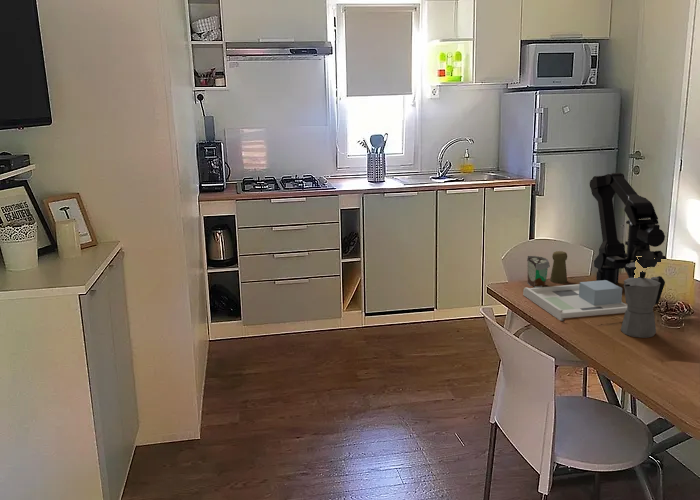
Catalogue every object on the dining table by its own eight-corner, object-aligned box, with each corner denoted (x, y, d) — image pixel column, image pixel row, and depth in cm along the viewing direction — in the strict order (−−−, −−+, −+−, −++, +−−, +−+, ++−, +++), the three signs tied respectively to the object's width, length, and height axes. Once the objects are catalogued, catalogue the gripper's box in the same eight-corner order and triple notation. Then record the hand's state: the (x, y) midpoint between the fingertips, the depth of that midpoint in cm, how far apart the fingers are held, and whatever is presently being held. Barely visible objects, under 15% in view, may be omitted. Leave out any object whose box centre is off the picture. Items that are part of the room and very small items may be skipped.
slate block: (605, 294, 214) (606, 280, 213) (621, 302, 205) (622, 288, 204) (578, 296, 212) (579, 282, 211) (593, 305, 203) (594, 290, 202)
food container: (553, 291, 221) (554, 263, 219) (535, 292, 221) (536, 264, 219) (543, 281, 233) (544, 255, 231) (526, 281, 233) (527, 255, 231)
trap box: (593, 289, 222) (594, 280, 222) (639, 313, 197) (639, 304, 196) (523, 295, 218) (523, 286, 218) (560, 320, 193) (561, 311, 192)
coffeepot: (634, 341, 175) (639, 279, 171) (608, 331, 184) (612, 271, 179) (674, 332, 181) (679, 271, 177) (646, 322, 190) (651, 263, 186)
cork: (565, 278, 236) (566, 249, 234) (569, 283, 230) (570, 253, 228) (548, 278, 237) (549, 249, 234) (551, 283, 231) (553, 253, 228)
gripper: (625, 247, 197) (621, 295, 201) (680, 243, 200) (675, 290, 203) (605, 239, 208) (602, 285, 211) (657, 235, 210) (653, 281, 214)
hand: (633, 286), depth 210 cm, fingers closed
